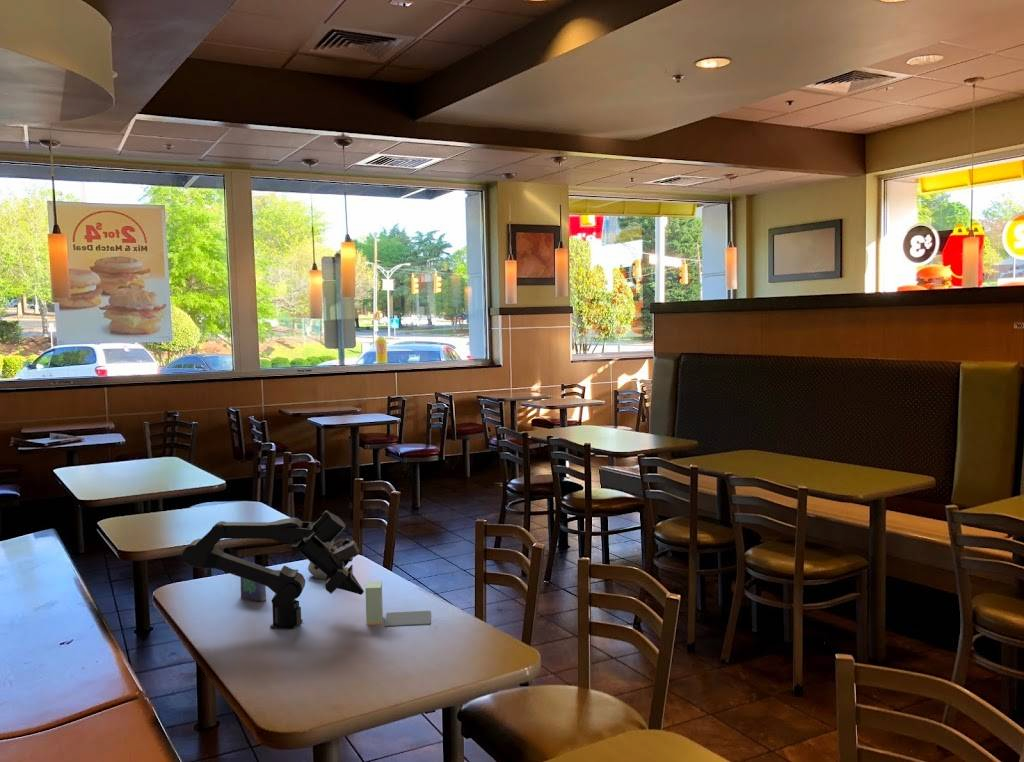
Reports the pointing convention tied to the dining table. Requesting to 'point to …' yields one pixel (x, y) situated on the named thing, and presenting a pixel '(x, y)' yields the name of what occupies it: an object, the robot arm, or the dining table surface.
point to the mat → (407, 618)
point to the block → (374, 603)
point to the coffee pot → (311, 568)
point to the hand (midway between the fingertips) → (362, 593)
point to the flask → (252, 590)
